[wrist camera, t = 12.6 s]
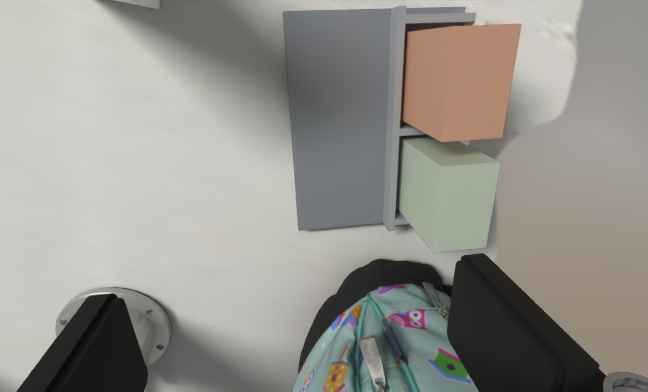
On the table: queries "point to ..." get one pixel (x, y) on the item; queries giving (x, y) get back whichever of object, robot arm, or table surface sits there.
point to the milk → (144, 3)
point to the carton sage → (446, 192)
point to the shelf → (353, 108)
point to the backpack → (383, 335)
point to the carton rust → (459, 80)
